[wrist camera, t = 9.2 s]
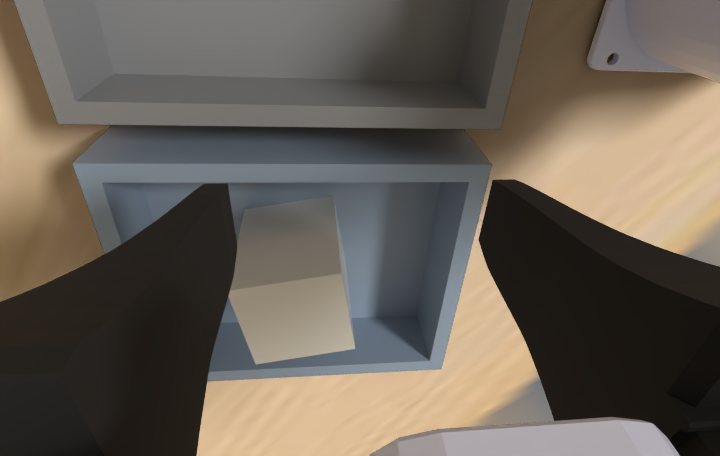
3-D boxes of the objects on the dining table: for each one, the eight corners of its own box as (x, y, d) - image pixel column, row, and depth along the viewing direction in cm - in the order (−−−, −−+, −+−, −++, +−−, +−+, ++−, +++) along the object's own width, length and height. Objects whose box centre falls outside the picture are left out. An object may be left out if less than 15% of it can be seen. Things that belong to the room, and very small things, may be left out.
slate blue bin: (462, 128, 21) (492, 164, 17) (425, 318, 28) (441, 369, 25) (112, 123, 19) (72, 163, 16) (170, 327, 26) (151, 384, 23)
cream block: (333, 195, 22) (341, 273, 17) (345, 264, 24) (355, 348, 19) (244, 209, 21) (226, 291, 17) (266, 276, 24) (255, 364, 19)
